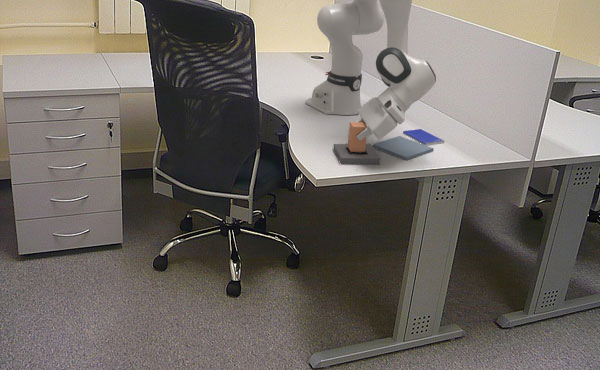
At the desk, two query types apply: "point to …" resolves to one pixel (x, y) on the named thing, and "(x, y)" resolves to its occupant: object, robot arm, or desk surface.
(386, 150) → the slate mat
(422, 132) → the hard drive
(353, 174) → the desk surface
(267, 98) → the desk surface
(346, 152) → the pocket holder
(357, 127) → the terracotta block
